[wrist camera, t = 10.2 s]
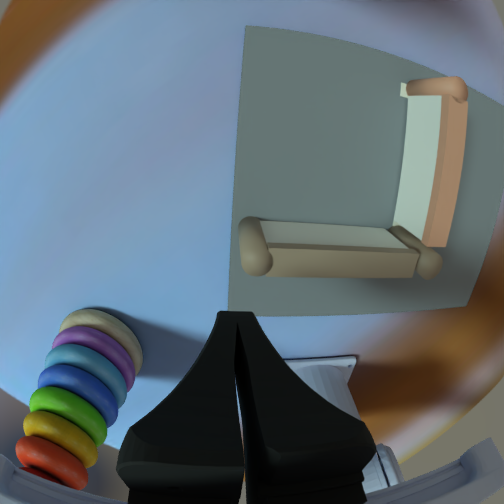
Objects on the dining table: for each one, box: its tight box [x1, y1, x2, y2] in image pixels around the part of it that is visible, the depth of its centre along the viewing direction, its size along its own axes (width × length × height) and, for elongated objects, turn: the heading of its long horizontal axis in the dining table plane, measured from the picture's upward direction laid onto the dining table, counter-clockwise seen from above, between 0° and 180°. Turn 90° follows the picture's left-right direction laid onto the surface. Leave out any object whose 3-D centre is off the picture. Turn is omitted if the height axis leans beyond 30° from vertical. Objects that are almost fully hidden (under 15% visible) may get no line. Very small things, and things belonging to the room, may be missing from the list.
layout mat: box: [228, 25, 504, 316], centre depth 19 cm, size 20×24×1 cm
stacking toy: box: [16, 309, 143, 490], centre depth 15 cm, size 8×8×19 cm
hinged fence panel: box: [394, 76, 468, 247], centre depth 16 cm, size 10×2×5 cm, turn 178°
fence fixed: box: [238, 216, 443, 280], centre depth 18 cm, size 2×12×5 cm, turn 86°
